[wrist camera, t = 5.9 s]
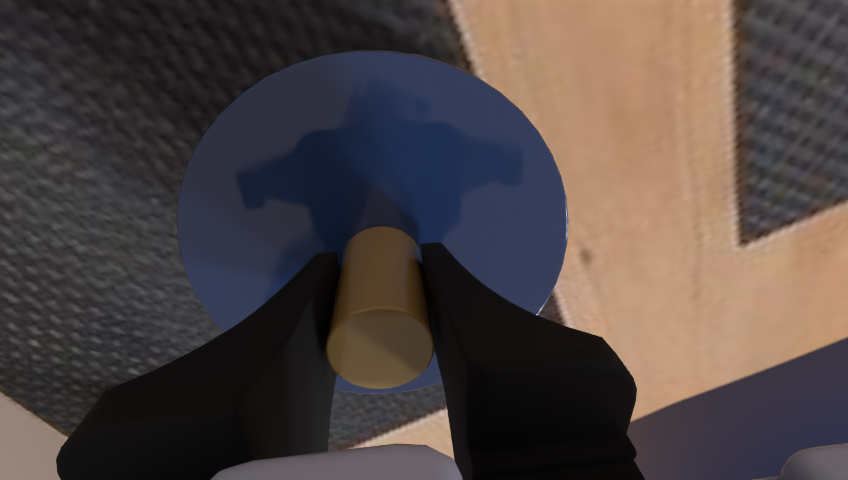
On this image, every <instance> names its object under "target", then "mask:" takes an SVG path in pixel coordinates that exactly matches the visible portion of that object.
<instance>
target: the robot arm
mask: <svg viewBox="0 0 848 480" xmlns="http://www.w3.org/2000/svg"><path fill="white" fill-rule="evenodd" d="M421 252H422V266H423V272H424V278H425V284H426V290H427V296H428V303H429V309H430V315H431V321H432V328H433V334H434V340H435V354H436V358H437V362H438V366H439V370H440V374H441V378H442V382H443V386H444V391H445V396H446V403H447V410H448V417H449V423H450V430H451V437H452V444H453V452H454V459H455V461H454V459H452V458H451V457H449V456H447V455H445V454H443V453H441V452H439V451H437V450H435V449H433V448H431V447H429V446H427V445H413V444H389V445H381V446H372V447H364V448H355V449H347V450H338V451H330V452H328V439H329V427H330V415H331V406H332V399H333V393H334V387H335V382H336V377H337V373H336V372H335V371H334V370H333V368H332V367H331V365H330V363H329V361H328V358H327V355H326V341H327V335H328V330H329V325H330V319H331V314H332V309H333V303H334V298H335V293H336V287H337V282H338V277H339V271H340V267H339V262H338V256H337V252H327V253H317V254H316V255H314V256H313V257H312V258H311V259H310V260H309V261H308V262H307V263H306V265H305V266H304V267H303V268H302V269H301V270H300V271H299V272H298V273H297V274H296V275H295V276H294V277H293V278H292V279H291V280H290V281H289V282H288V283H287V284H286V285H285V286H284V287H282V288H281V289H280V290H279V291H278V292H277V293H276V294H274V295H273V296H272V297H271V298H270V299H269V300H268V301H267V302H265V303H264V304H263V305H262V306H261V307H259V308H258V309H257V310H256V311H254V312H253V313H252V314H251V315H249V316H248V317H246V318H245V319H244V320H242V321H241V322H239V323H238V324H237V325H235V326H234V327H232V328H231V329H229V330H227V331H226V332H224V333H222V334H221V335H219V336H218V337H216V338H214V339H213V340H211V341H209V342H208V343H206V344H204V345H203V346H201V347H199V348H197V349H196V350H194V351H192V352H190V353H188V354H186V355H184V356H182V357H180V358H178V359H176V360H174V361H172V362H170V363H168V364H166V365H164V366H162V367H160V368H158V369H156V370H153V371H151V372H149V373H146V374H144V375H142V376H139V377H137V378H135V379H132V380H130V381H128V382H125V383H123V384H121V385H118V386H116V387H113V388H111V389H108V390H106V391H105V392H104V393H103V394H102V395H101V397H100V398H99V399H98V401H97V402H96V403H95V404H94V406H93V407H92V408H91V410H90V411H89V412H88V413H87V415H86V416H85V417H84V419H83V420H82V421H81V423H80V424H79V425H78V426H77V428H76V429H75V430H74V432H73V433H72V434H71V435H70V437H69V438H68V439H67V441H66V442H65V443H64V445H63V446H62V447H61V449H60V452H59V454H58V456H57V459H56V463H57V472H58V475H59V477H60V479H61V480H645V479H644V477H643V475H642V473H641V472H640V470H639V468H638V467H637V465H636V463H635V461H634V460H633V459H635V458H636V450H635V448H634V446H633V444H632V443H631V441H630V439H629V438H628V436H627V430H628V426H629V423H630V420H631V416H632V413H633V409H634V406H635V402H636V393H637V388H636V385H635V381H634V378H633V377H632V375H631V374H630V372H629V371H628V370H627V368H626V367H625V365H624V364H623V362H622V361H621V360H620V358H619V357H618V356H617V354H616V353H615V352H614V351H613V350H612V348H611V347H610V346H609V345H608V344H607V343H606V341H605V340H604V339H603V338H602V337H599V336H596V335H592V334H589V333H586V332H582V331H579V330H576V329H572V328H569V327H566V326H563V325H560V324H558V323H555V322H553V321H550V320H547V319H545V318H542V317H540V316H538V315H536V314H533V313H531V312H529V311H527V310H525V309H523V308H521V307H519V306H517V305H515V304H514V303H512V302H510V301H508V300H507V299H505V298H503V297H502V296H500V295H499V294H497V293H496V292H494V291H492V290H491V289H490V288H488V287H487V286H485V285H484V284H483V283H482V282H480V281H479V280H478V279H477V278H476V277H475V276H473V275H472V274H471V273H470V272H469V271H468V270H467V269H466V268H465V267H464V266H463V265H462V264H461V263H460V262H459V261H458V260H457V259H456V258H455V257H454V256H453V255H452V254H451V253H450V252H449V251H448V249H447V248H446V247H445V246H444V245H443V244H442V243H441V242H435V243H424V244H421ZM756 480H848V443H846V444H838V445H830V446H822V447H814V448H808V449H804V450H800V451H799V452H797V453H795V454H793V455H792V456H791V457H790V458H789V459H788V460H787V461H786V463H785V465H784V466H783V469H782V471H781V476H778V477H770V478H763V479H756Z"/></svg>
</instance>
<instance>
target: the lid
mask: <svg viewBox="0 0 848 480" xmlns="http://www.w3.org/2000/svg"><path fill="white" fill-rule="evenodd" d="M177 235H178V241H179V247H180V253H181V258H182V261H183V264H184V267H185V270H186V273H187V276H188V279H189V281H190V283H191V285H192V287H193V289H194V291H195V293H196V295H197V297H198V299H199V301H200V302H201V304H202V305H203V307H204V308H205V310H206V311H207V313H208V314H209V316H210V317H211V318H212V320H213V321H214V322H215V323H216V324H217V325H218V326H219V328H220V329H221V330H222V331H223V332H226V331H227V330H229V329H231V328H232V327H234V326H235V325H237V324H238V323H239V322H241V321H242V320H244V319H245V318H246V317H248V316H249V315H251V314H252V313H253V312H254V311H256V310H257V309H258V308H259V307H261V306H262V305H263V304H264V303H265V302H267V301H268V300H269V299H270V298H271V297H272V296H273V295H274V294H276V293H277V292H278V291H279V290H280V289H281V288H282V287H284V286H285V285H286V284H287V283H288V282H289V281H290V280H291V279H292V278H293V277H294V276H295V275H296V274H297V273H298V272H299V271H300V270H301V269H302V268H303V267H304V266H305V265H306V263H307V262H308V261H309V260H310V259H311V258H312V257H313V256H314V255H316V254H317V253H327V252H337V256H338V262H339V267H340V271H339V277H338V282H337V287H336V293H335V298H334V303H333V309H332V314H331V319H330V325H329V330H328V335H327V341H326V355H327V358H328V361H329V363H330V365H331V367H332V368H333V370H334V371H335V372H336V373H337V377H336V382H335V387H334V390H337V391H345V392H353V393H373V394H381V393H396V392H404V391H410V390H417V389H421V388H425V387H429V386H433V385H437V384H440V383H443V382H442V378H441V374H440V370H439V366H438V362H437V358H436V354H435V340H434V334H433V328H432V321H431V315H430V309H429V303H428V296H427V290H426V284H425V278H424V272H423V266H422V252H421V244H424V243H435V242H441V243H442V244H443V245H444V246H445V247H446V248H447V249H448V251H449V252H450V253H451V254H452V255H453V256H454V257H455V258H456V259H457V260H458V261H459V262H460V263H461V264H462V265H463V266H464V267H465V268H466V269H467V270H468V271H469V272H470V273H471V274H472V275H473V276H475V277H476V278H477V279H478V280H479V281H480V282H482V283H483V284H484V285H485V286H487V287H488V288H490V289H491V290H492V291H494V292H496V293H497V294H499V295H500V296H502V297H503V298H505V299H507V300H508V301H510V302H512V303H514V304H515V305H517V306H519V307H521V308H523V309H525V310H527V311H529V312H531V313H533V314H536V315H538V314H539V313H540V311H541V310H542V308H543V307H544V305H545V304H546V302H547V300H548V298H549V296H550V294H551V292H552V290H553V288H554V286H555V284H556V282H557V279H558V276H559V273H560V271H561V268H562V265H563V261H564V256H565V251H566V246H567V236H568V211H567V200H566V195H565V191H564V187H563V183H562V178H561V175H560V172H559V170H558V168H557V165H556V163H555V160H554V158H553V155H552V153H551V151H550V150H549V148H548V146H547V145H546V143H545V141H544V140H543V138H542V136H541V135H540V133H539V132H538V130H537V129H536V128H535V127H534V125H533V124H532V123H531V122H530V121H529V119H528V118H527V117H526V116H525V115H524V113H523V112H522V111H521V110H520V109H519V108H518V107H516V106H515V105H514V104H513V103H512V102H511V101H510V100H509V99H507V98H506V97H505V96H504V95H503V94H502V93H501V92H499V91H498V90H496V89H495V88H493V87H491V86H490V85H488V84H487V83H485V82H484V81H482V80H481V79H479V78H478V77H476V76H474V75H472V74H470V73H468V72H466V71H464V70H461V69H459V68H457V67H455V66H453V65H451V64H449V63H446V62H443V61H440V60H436V59H433V58H430V57H426V56H423V55H420V54H414V53H408V52H401V51H394V50H376V49H356V50H349V51H342V52H335V53H328V54H324V55H320V56H317V57H314V58H310V59H307V60H303V61H300V62H297V63H294V64H292V65H290V66H288V67H285V68H283V69H281V70H279V71H277V72H275V73H273V74H271V75H268V76H266V77H265V78H263V79H262V80H260V81H259V82H257V83H256V84H254V85H253V86H251V87H250V88H248V89H247V90H245V91H244V92H242V93H241V94H240V95H239V96H237V97H236V98H235V99H234V100H233V101H232V102H231V103H230V104H229V105H228V106H227V107H226V108H225V109H224V110H222V111H221V112H220V113H219V114H218V116H217V117H216V118H215V120H214V121H213V122H212V123H211V125H210V126H209V127H208V129H207V130H206V131H205V133H204V134H203V135H202V137H201V139H200V141H199V142H198V144H197V146H196V148H195V150H194V152H193V154H192V155H191V157H190V159H189V162H188V165H187V168H186V171H185V174H184V177H183V180H182V183H181V188H180V194H179V201H178V207H177Z"/></svg>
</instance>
